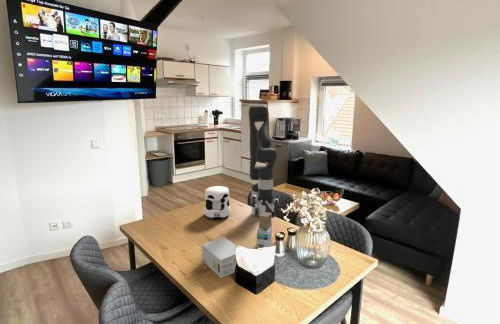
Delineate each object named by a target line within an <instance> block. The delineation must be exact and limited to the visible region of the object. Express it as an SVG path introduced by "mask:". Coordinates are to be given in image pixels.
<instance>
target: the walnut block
mask: <svg viewBox="0 0 500 324" xmlns="http://www.w3.org/2000/svg"><path fill="white" fill-rule="evenodd" d="M272 219H273V218H272V212H266V211H265V212H262V213H261V214H260V215H259V217H258V227H259V228H264V229H269V228H270V226H271V223H272Z"/></svg>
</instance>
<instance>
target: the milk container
mask: <svg viewBox="0 0 500 324" xmlns="http://www.w3.org/2000/svg"><path fill="white" fill-rule="evenodd" d="M204 191H205V192H204V201H205V203H204V208H203V211H204V215H205V216H206V218H208V219H212V220H213V219H214V220H220V219H224V218H226V217H228V216H229V215H230V214H231V210H232V209H231V204H230V190H229V188H228V187H226V186H221V185H217V186H215V185H214V186H209V187H207V188H206V189H205V190H204Z"/></svg>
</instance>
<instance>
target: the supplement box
mask: <svg viewBox="0 0 500 324" xmlns="http://www.w3.org/2000/svg"><path fill="white" fill-rule="evenodd" d="M237 247H239V246H238V245H237V244H235V243H234V242H232V241H231V240H230V239H229V238H227V237H225V236H221V237H218V238H216V239H214V240H211V241H208V242H205V243H202V244H201V253H202V257H201V258H202V262H203V263H204V264H205V265H206V266H207V267H208V268H209V269H211V270H212V272H214V274H216V276H218V277H219V278H220V279H222V278H225V277H227V276H229V275H231V274H234V273H235V267H236V255H235V250H236V248H237Z"/></svg>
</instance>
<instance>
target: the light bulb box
mask: <svg viewBox="0 0 500 324" xmlns="http://www.w3.org/2000/svg"><path fill="white" fill-rule="evenodd" d="M272 233H273V223H272V222H271V226H270V228H269V229H264V228H259V226H258V227H257V229H256V249H257V248H263V247H269V246H270V247H271V244H272V240H273V239H272V237H273V235H272Z"/></svg>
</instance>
